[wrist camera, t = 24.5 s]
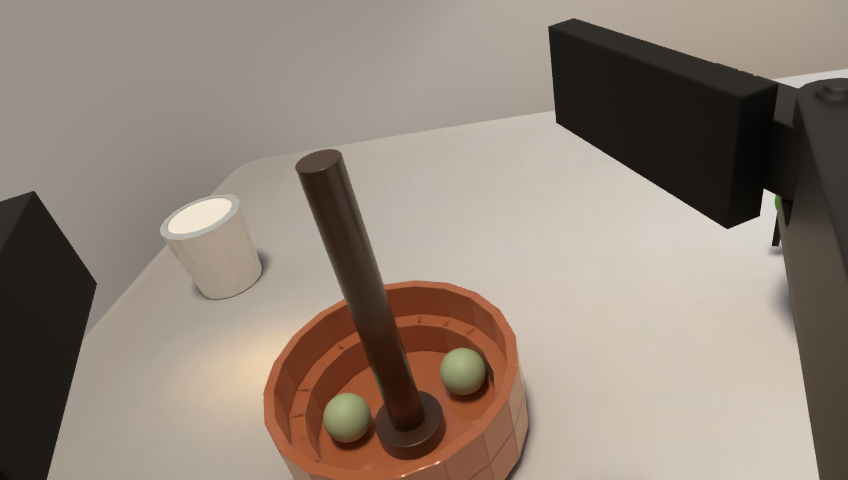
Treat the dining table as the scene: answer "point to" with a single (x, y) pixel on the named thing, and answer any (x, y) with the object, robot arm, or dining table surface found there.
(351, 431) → the bead
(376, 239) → the dining table surface
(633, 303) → the dining table surface
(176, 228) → the white cup
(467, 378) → the bead
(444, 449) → the bowl
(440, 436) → the stick
